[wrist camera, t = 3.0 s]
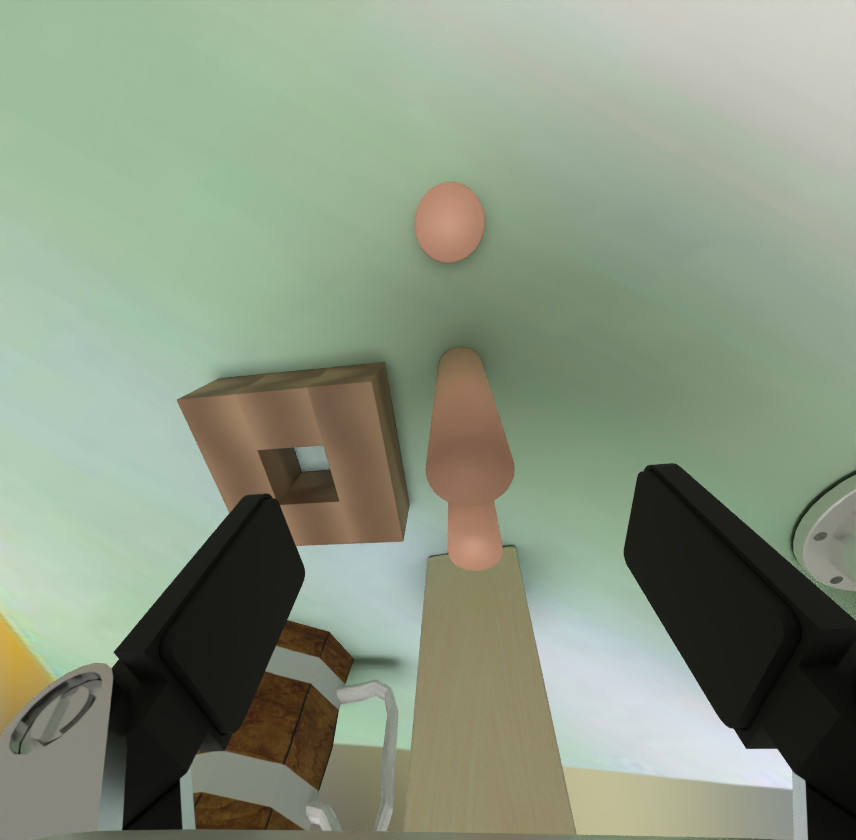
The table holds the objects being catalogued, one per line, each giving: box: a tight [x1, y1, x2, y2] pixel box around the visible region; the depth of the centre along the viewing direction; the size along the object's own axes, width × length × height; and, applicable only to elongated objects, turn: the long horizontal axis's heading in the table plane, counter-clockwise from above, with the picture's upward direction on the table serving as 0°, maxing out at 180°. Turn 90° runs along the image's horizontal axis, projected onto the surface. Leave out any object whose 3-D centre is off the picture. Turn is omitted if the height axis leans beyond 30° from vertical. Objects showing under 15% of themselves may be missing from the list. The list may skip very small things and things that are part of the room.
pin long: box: [426, 347, 514, 506], centre depth 17 cm, size 3×3×12 cm
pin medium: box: [448, 500, 503, 571], centre depth 22 cm, size 3×3×8 cm
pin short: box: [415, 182, 484, 263], centre depth 17 cm, size 3×3×5 cm
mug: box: [191, 620, 398, 831], centre depth 31 cm, size 20×14×15 cm
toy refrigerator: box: [403, 547, 577, 835], centre depth 21 cm, size 8×7×21 cm
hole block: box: [177, 362, 410, 546], centre depth 24 cm, size 12×12×4 cm
